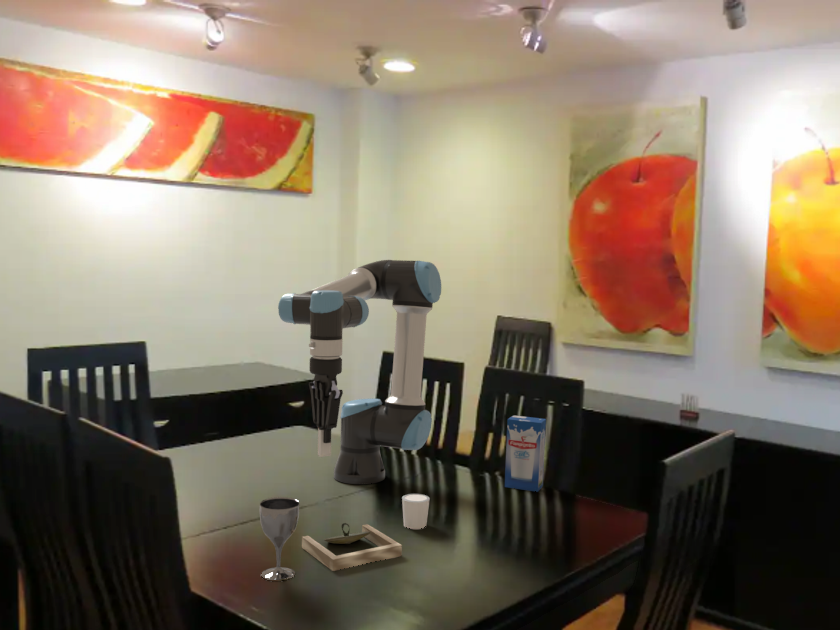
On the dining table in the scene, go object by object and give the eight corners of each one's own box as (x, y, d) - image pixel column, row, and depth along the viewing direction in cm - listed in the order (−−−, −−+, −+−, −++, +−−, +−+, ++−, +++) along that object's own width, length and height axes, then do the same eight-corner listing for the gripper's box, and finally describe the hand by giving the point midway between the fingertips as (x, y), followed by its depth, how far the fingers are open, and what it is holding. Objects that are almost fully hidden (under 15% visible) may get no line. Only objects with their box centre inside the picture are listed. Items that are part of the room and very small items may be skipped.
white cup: (425, 531, 189) (426, 503, 189) (398, 528, 191) (399, 500, 190) (431, 522, 196) (432, 494, 196) (404, 519, 198) (405, 492, 197)
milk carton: (504, 487, 228) (507, 419, 226) (510, 481, 234) (513, 415, 232) (538, 491, 224) (541, 422, 223) (543, 486, 230) (546, 418, 228)
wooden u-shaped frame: (367, 534, 186) (367, 524, 186) (401, 556, 174) (401, 545, 173) (301, 547, 176) (302, 536, 176) (332, 571, 164) (333, 559, 164)
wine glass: (260, 566, 165) (262, 497, 164) (299, 566, 166) (300, 497, 165) (256, 582, 157) (257, 509, 156) (296, 582, 158) (297, 509, 157)
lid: (336, 557, 172) (336, 534, 171) (316, 542, 180) (316, 521, 180) (377, 548, 178) (378, 526, 177) (356, 534, 186) (356, 513, 186)
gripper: (299, 353, 187) (298, 450, 189) (324, 361, 176) (322, 464, 178) (327, 352, 191) (325, 447, 193) (353, 359, 180) (351, 460, 183)
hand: (324, 455), depth 186 cm, fingers closed
